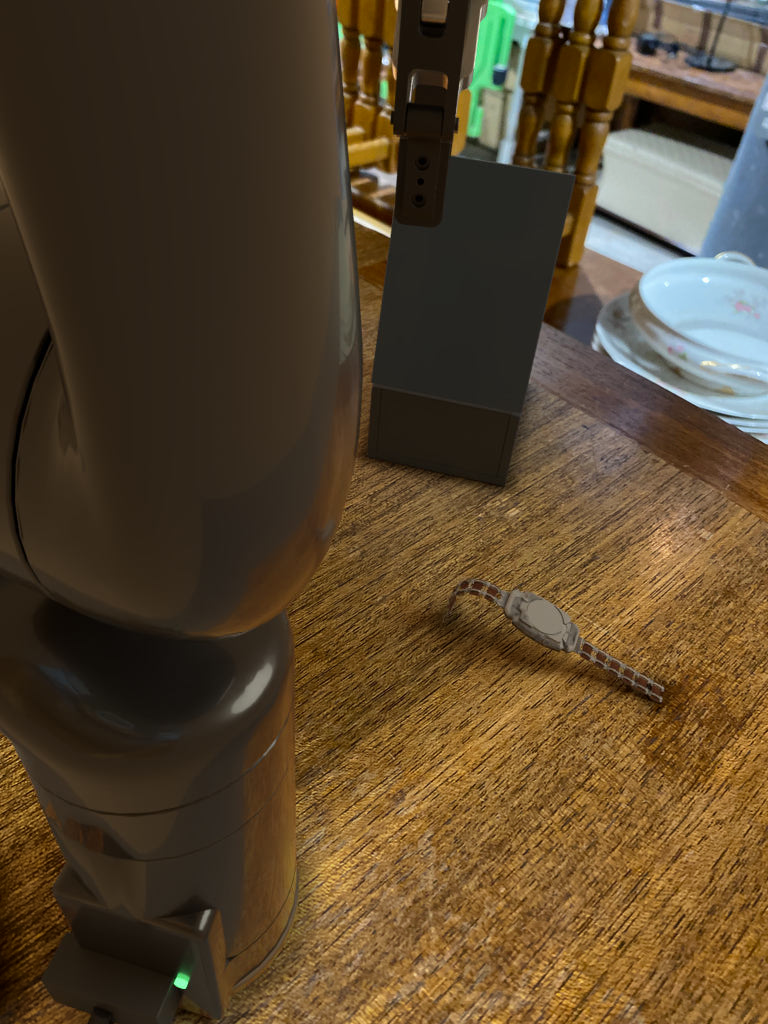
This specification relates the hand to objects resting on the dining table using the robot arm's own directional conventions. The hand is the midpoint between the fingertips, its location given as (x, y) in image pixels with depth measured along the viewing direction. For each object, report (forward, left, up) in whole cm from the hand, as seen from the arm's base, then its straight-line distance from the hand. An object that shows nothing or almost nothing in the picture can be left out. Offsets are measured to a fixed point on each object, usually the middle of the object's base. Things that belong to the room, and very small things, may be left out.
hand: (424, 189), depth 39 cm
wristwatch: (-6, -12, -26) cm, 29 cm away
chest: (+18, -1, -26) cm, 32 cm away
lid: (+13, -1, -11) cm, 17 cm away
